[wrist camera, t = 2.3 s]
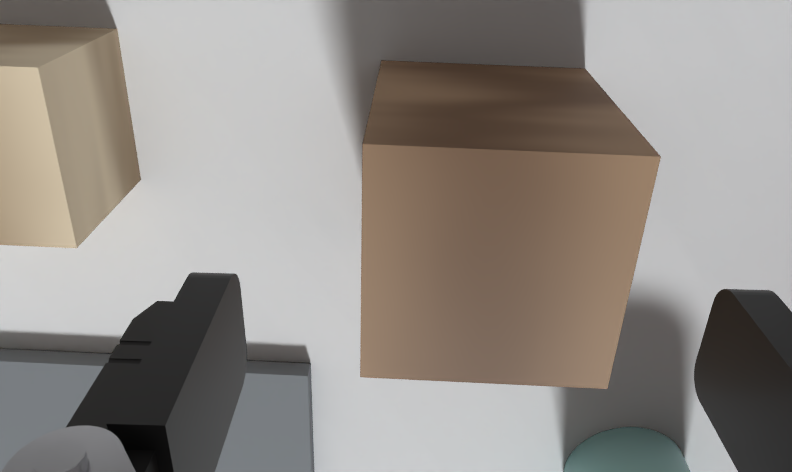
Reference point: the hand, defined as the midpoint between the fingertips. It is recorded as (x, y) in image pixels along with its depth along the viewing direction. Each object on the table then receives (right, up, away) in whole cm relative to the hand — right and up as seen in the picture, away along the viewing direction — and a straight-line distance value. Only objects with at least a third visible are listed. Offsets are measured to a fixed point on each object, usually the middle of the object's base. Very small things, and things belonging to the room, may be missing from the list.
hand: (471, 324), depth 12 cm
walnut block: (+1, +4, +6) cm, 7 cm away
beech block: (-11, +5, +6) cm, 14 cm away
